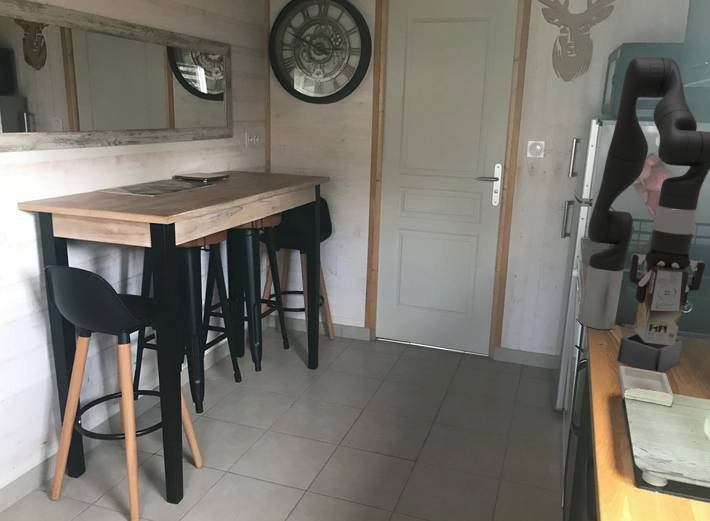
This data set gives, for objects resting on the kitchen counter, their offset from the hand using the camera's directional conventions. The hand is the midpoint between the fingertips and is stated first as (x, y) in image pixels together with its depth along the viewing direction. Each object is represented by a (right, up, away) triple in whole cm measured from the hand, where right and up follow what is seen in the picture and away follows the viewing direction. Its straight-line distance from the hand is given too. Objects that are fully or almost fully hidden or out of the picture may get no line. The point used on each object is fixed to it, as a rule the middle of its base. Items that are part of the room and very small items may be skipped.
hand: (659, 304), depth 129 cm
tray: (-1, -19, +5) cm, 20 cm away
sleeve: (+8, -16, +21) cm, 27 cm away
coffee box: (0, -7, +2) cm, 8 cm away
